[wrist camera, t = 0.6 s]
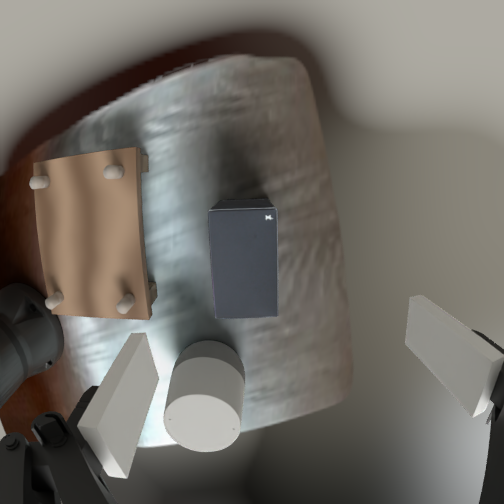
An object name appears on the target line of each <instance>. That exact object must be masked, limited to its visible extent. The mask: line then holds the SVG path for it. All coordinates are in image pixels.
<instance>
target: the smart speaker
mask: <svg viewBox="0 0 504 504" xmlns="http://www.w3.org/2000/svg"><path fill="white" fill-rule="evenodd" d="M244 392H245V371H244V367H243V364H242V361H241V359H240V358H239V356H238V355H237V354H236V352H235V351H234V350H233V349H231V348H230V347H229V346H227V345H225V344H223V343H221V342H217V341H211V340H206V341H199V342H196V343H194V344H192V345H190V346H188V347H187V348H186V349H185V350H184V351H183V352H182V353H181V354H180V355H179V357H178V358H177V360H176V363H175V365H174V368H173V371H172V375H171V380H170V385H169V390H168V395H167V400H166V406H165V411H164V425H165V428H166V431H167V432H168V434H169V435H170V436H171V438H172V439H173V440H174V441H176V442H177V443H178V444H180V445H182V446H183V447H186V448H188V449H191V450H195V451H200V452H211V451H217V450H221V449H223V448H226V447H228V446H229V445H230V444H232V443H233V442H234V441H235V440H236V438H237V437H238V435H239V432H240V428H241V420H242V411H243V401H244Z"/></svg>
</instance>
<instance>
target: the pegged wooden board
mask: <svg viewBox="0 0 504 504" xmlns="http://www.w3.org/2000/svg"><path fill="white" fill-rule="evenodd" d="M141 172H148V156H147V155H143V154H140V148H138V147H130V148H122V149H114V150H106V151H99V152H93V153H86V154H80V155H74V156H68V157H63V158H57V159H52V160H47V161H42V162H37V163H34V177H32V178H31V179H30V187H31V188H32V189H34V193H35V209H36V221H37V230H38V239H39V247H40V254H41V261H42V267H43V273H44V278H45V284H46V289H47V294H48V298H47V299H46V300H45V304H46V306H47V308H48V309H51V312H52V314H58V315H70V316H83V317H98V318H116V319H138V320H149V319H150V318H151V316H152V308H151V305H152V304H153V302H154V301H155V299H156V298H157V289H156V282H148V275H147V265H146V255H145V244H144V231H143V215H142V196H141Z"/></svg>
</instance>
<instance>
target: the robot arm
mask: <svg viewBox="0 0 504 504" xmlns="http://www.w3.org/2000/svg"><path fill="white" fill-rule="evenodd" d="M45 300H46V299H45V298H44V297H43V296H42V295H41V294H40V293H39V292H37V291H36V290H35V289H33V288H32V287H30V286H28V285H26V284H23V283H12V284H9V285H8V286H6V287H4V288H2V289H1V290H0V408H1V407H2V406H3V405H4V403H5V402H6V401H7V400H8V399H9V398H10V396H11V395H12V394H13V393H14V392H15V391H16V389H17V388H18V387H19V386H20V385H21V384H22V383H23V381H24V380H25V379H26V378H28V377H30V376H33V375H35V374H38V373H41V372H43V371H46V370H48V369H50V368H51V367H52V366H53V365H54V364H55V363H56V362H57V361H58V360H59V359H60V357H61V355H62V352H63V348H64V338H63V332H62V328H61V325H60V323H59V320H58V318H57V316H56V314H52V312H51V309H48V308H47V306H46V304H45ZM407 323H408V324H407V332H406V340H405V344H406V345H407V346H408V347H409V348H410V349H411V350H412V352H413V353H414V354H415V355H416V356H417V357H418V358H419V359H420V360H421V361H422V362H423V363H424V364H425V365H426V367H427V368H428V369H429V370H430V371H431V372H432V373H433V374H434V375H435V376H436V377H437V379H438V380H439V381H440V382H441V383H442V384H443V385H444V386H445V387H446V388H447V390H448V391H449V392H450V393H451V394H452V395H453V396H454V397H455V398H456V400H457V401H458V402H459V403H460V404H461V405H462V406H463V407H464V409H465V410H466V411H467V412H468V413H469V414H470V416H471V417H474V416H477V415H479V414H480V413H482V412H484V411H485V410H486V408H487V405H488V403H489V401H490V400H491V401H492V402H493V403H494V406H493V408H492V411H491V413H490V415H489V417H488V419H487V422H486V424H488V423H489V421H490V420H491V430H490V440H489V449H488V458H487V464H486V471H485V477H484V482H483V487H482V492H481V496H480V501H479V504H504V349H502V348H501V347H500V346H498V345H497V344H496V343H495V344H494V342H493V341H492V340H490V339H489V338H488V337H486V336H485V335H484V334H482V333H480V332H478V331H475V330H470V329H469V328H468V327H466V326H465V325H463V324H462V323H461V322H459V321H458V320H457V319H455V318H454V317H453V316H451V315H450V314H448V313H447V312H446V311H444V310H443V309H441V308H440V307H438V306H437V305H436V304H434V303H433V302H431V301H430V300H428V299H427V298H425V297H424V296H423V295H418V296H414V297H410V301H409V313H408V322H407ZM158 381H159V377H158V373H157V370H156V367H155V364H154V360H153V357H152V354H151V350H150V347H149V343H148V340H147V336H146V333H131V335H130V336H129V338H128V339H127V341H126V343H125V344H124V346H123V347H122V349H121V351H120V352H119V354H118V356H117V357H116V359H115V361H114V362H113V364H112V366H111V367H110V369H109V371H108V372H107V374H106V376H105V377H104V379H103V381H102V383H101V384H100V386H92V387H90V388H89V389H88V390H87V391H86V392H84V394H83V395H82V397H81V399H80V400H79V402H78V403H77V405H76V409H75V408H74V410H73V412H72V413H71V415H70V417H69V418H68V420H67V422H66V421H65V420H64V418H63V416H62V415H61V414H60V413H57V412H51V411H50V412H45V413H43V414H41V415H39V416H37V417H36V418H35V419H34V420H33V422H32V424H31V430H32V431H33V433H34V434H35V436H36V437H37V439H38V440H39V442H28V441H27V440H26V438H25V437H24V436H23V434H20V433H10V434H7V435H6V436H4V437H3V438H2V439H1V441H0V504H61V501H62V503H63V504H118V503H117V501H116V500H115V498H114V497H113V495H112V493H111V492H110V490H109V489H108V487H107V485H106V484H105V482H104V480H103V478H102V477H101V476H100V473H101V470H102V467H103V468H104V470H105V471H106V472H107V474H108V475H109V476H112V477H119V478H128V474H129V471H130V467H131V464H132V461H133V457H134V454H135V451H136V448H137V445H138V441H139V438H140V435H141V432H142V429H143V426H144V423H145V420H146V416H147V413H148V410H149V407H150V404H151V401H152V398H153V395H154V392H155V390H156V387H157V384H158ZM60 498H61V499H60Z"/></svg>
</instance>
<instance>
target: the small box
mask: <svg viewBox="0 0 504 504" xmlns="http://www.w3.org/2000/svg"><path fill="white" fill-rule="evenodd" d="M277 221H278V217H277V208H276V207H275V206H274V205H273V204H272V203H271V202H270V200H269V199H268V198H261V199H240V200H235V199H230V200H221V201H219V202H218V203H217V204H216V205H215V206H213V207H212V208H211V209H210V210H208V223H209V240H210V255H211V270H212V284H213V297H214V310H215V317H216V318H220V319H233V318H263V317H277V316H278V222H277Z"/></svg>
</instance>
